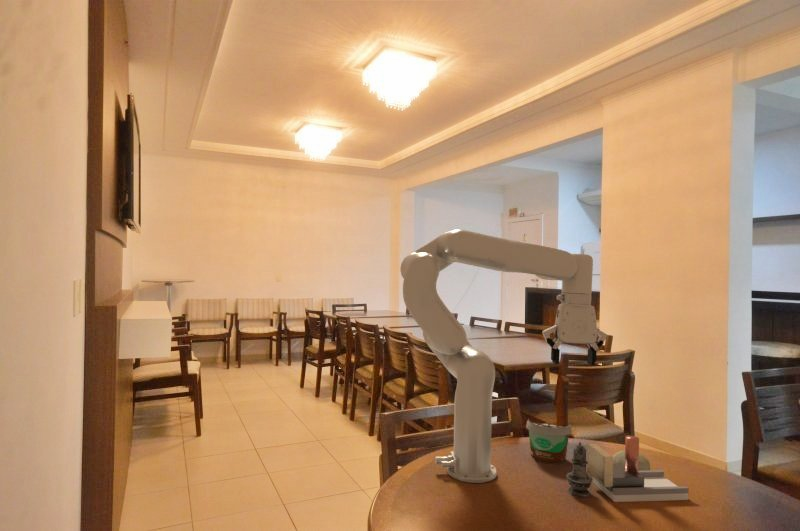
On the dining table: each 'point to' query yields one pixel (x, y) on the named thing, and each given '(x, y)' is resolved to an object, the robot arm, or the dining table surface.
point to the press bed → (648, 489)
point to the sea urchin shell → (620, 460)
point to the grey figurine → (579, 474)
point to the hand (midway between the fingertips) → (573, 363)
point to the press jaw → (616, 466)
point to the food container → (548, 442)
